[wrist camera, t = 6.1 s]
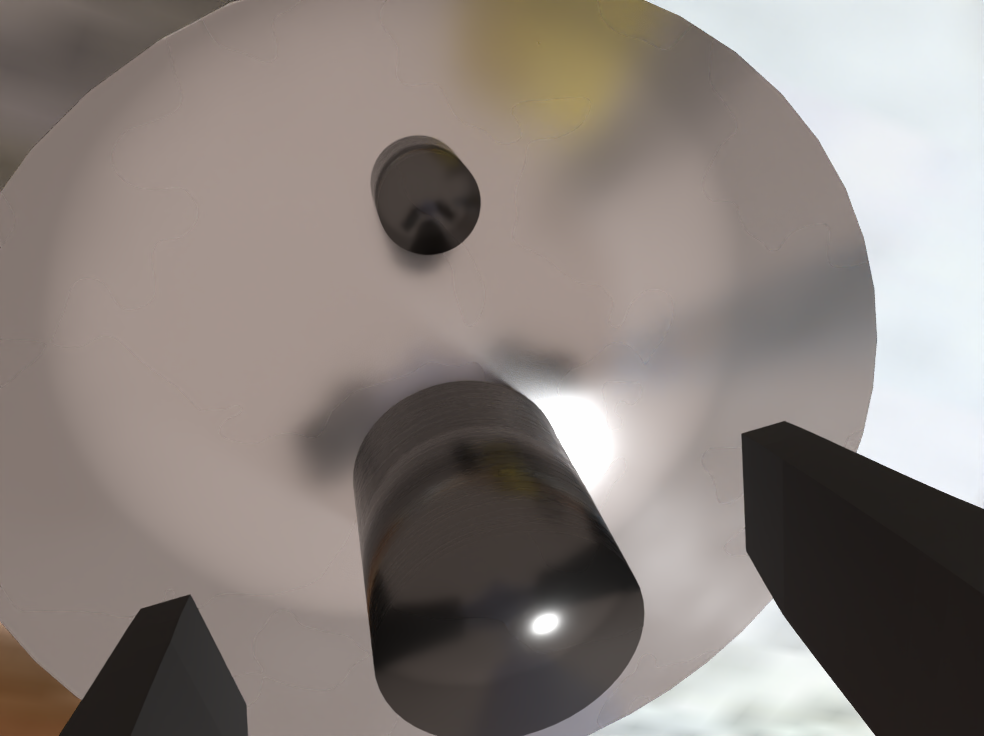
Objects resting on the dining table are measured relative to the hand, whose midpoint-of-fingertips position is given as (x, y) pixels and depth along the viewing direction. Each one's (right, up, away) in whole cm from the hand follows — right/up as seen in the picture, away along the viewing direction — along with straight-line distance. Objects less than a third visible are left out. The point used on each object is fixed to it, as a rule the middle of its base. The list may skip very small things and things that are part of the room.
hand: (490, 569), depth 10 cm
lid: (-1, +1, +3) cm, 3 cm away
